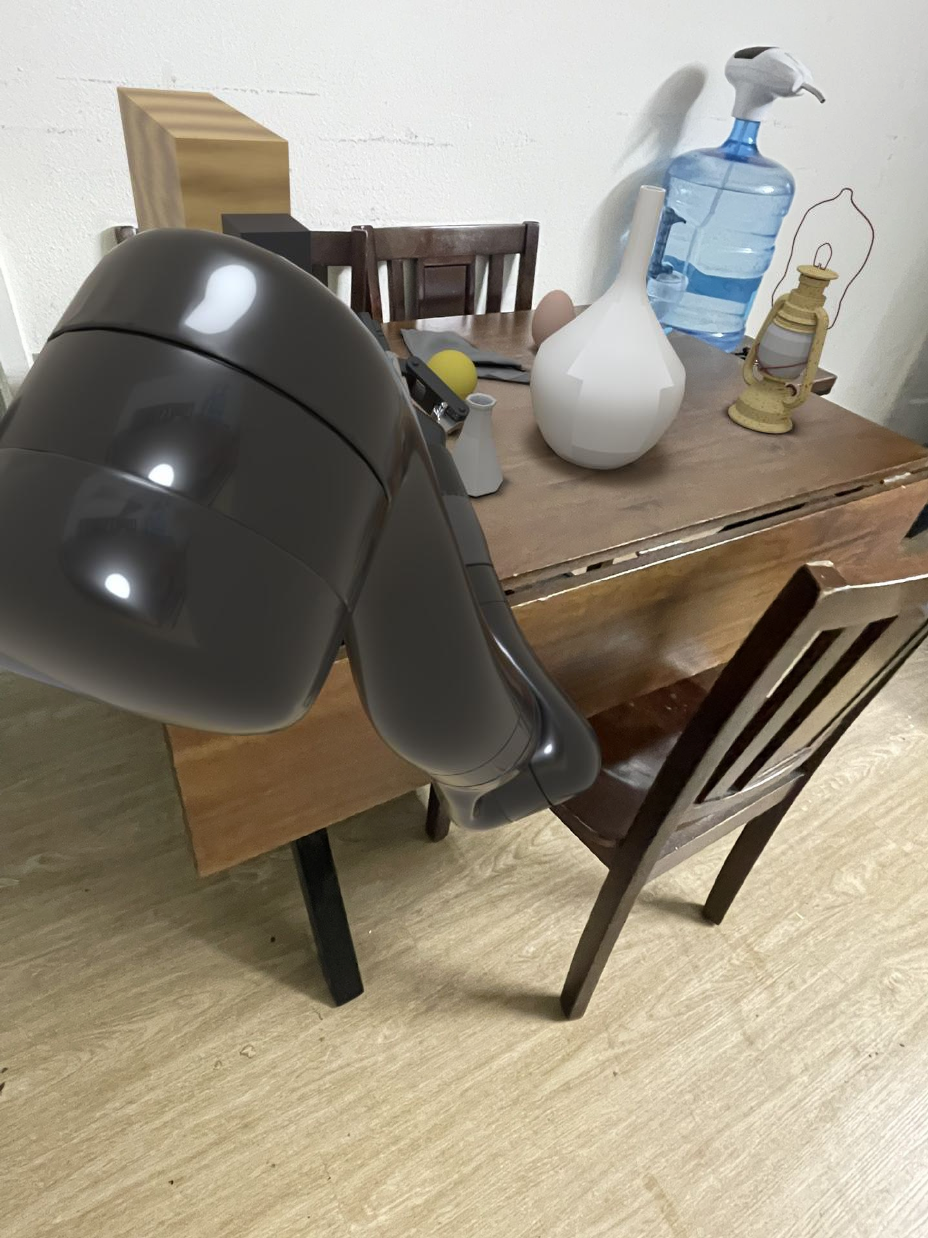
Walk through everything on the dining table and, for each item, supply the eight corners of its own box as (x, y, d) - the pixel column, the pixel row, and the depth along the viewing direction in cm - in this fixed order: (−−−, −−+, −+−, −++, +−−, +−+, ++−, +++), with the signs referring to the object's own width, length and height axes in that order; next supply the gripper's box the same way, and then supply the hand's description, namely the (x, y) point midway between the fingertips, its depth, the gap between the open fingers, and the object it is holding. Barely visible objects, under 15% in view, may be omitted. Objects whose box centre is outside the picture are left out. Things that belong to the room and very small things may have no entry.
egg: (521, 344, 123) (531, 282, 116) (560, 345, 125) (571, 283, 118) (535, 361, 118) (546, 297, 112) (575, 361, 120) (588, 298, 113)
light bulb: (415, 416, 98) (421, 340, 92) (465, 417, 100) (474, 342, 93) (423, 440, 93) (429, 361, 87) (475, 441, 95) (485, 363, 88)
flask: (477, 504, 83) (489, 420, 77) (426, 479, 86) (434, 396, 80) (513, 482, 88) (527, 401, 82) (464, 459, 91) (474, 379, 84)
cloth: (370, 337, 118) (371, 323, 116) (437, 324, 125) (438, 310, 124) (482, 401, 104) (485, 386, 103) (550, 382, 112) (553, 367, 110)
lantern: (815, 433, 108) (919, 200, 89) (768, 442, 104) (866, 200, 85) (754, 398, 116) (837, 177, 97) (708, 406, 112) (785, 176, 92)
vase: (523, 480, 89) (574, 196, 69) (516, 412, 103) (557, 160, 83) (675, 495, 90) (766, 220, 71) (647, 426, 104) (717, 181, 85)
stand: (299, 448, 88) (288, 140, 69) (212, 460, 84) (174, 136, 64) (232, 357, 106) (209, 92, 87) (159, 363, 102) (116, 86, 82)
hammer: (414, 386, 53) (418, 314, 50) (334, 395, 51) (334, 320, 48) (287, 268, 72) (284, 210, 68) (223, 271, 69) (217, 210, 66)
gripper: (530, 483, 50) (440, 278, 55) (333, 520, 44) (248, 287, 49) (490, 534, 57) (412, 348, 61) (314, 573, 51) (240, 363, 55)
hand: (340, 322), depth 55 cm, fingers closed on hammer, 2 cm apart
